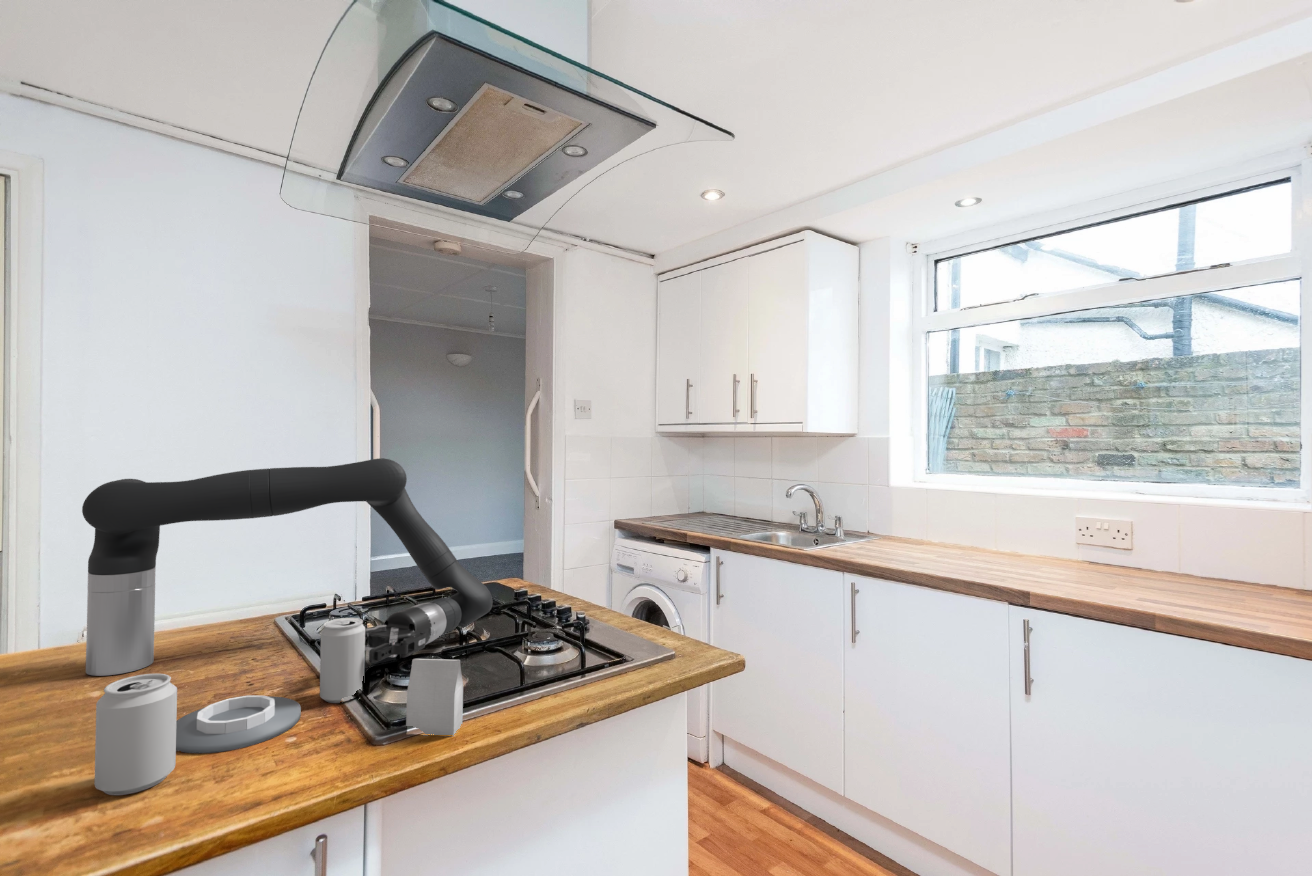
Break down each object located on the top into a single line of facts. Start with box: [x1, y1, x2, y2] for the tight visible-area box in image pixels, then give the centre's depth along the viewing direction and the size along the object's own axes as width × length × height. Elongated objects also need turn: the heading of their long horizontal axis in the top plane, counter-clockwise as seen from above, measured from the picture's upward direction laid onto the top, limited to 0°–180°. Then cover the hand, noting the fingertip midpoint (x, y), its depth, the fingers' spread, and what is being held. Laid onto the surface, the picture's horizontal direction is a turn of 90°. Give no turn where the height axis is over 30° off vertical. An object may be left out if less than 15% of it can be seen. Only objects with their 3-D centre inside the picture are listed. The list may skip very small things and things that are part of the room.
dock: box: [176, 694, 302, 754], centre depth 91 cm, size 16×16×2 cm
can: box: [93, 673, 178, 796], centre depth 76 cm, size 8×8×12 cm
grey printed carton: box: [405, 658, 464, 737], centre depth 91 cm, size 4×7×10 cm, turn 89°
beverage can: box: [319, 617, 366, 704], centre depth 102 cm, size 6×6×12 cm
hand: (349, 653), depth 103 cm, fingers open, 8 cm apart
